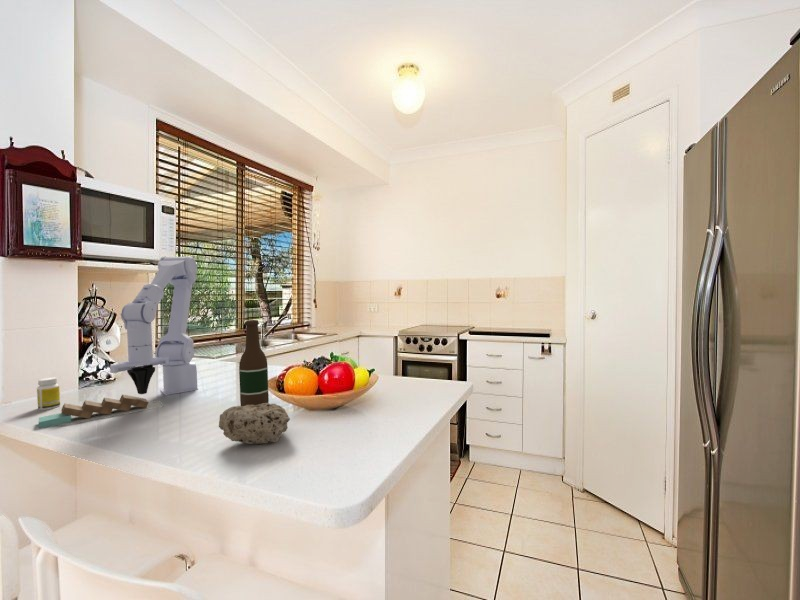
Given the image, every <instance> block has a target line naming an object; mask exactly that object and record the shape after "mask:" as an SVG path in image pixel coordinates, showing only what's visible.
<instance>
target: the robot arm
mask: <svg viewBox="0 0 800 600" xmlns="http://www.w3.org/2000/svg"><path fill="white" fill-rule="evenodd" d="M197 272H198V264H197V262H196V259H194V257H193V256H192V255H188V256H162V257H160V259H159V261H158V262H157V272H156V274H155V276H154V278H153V279H152V281H151V283H147V284H144V285H143V287H142V288H141V289H140V291H139V292H138V293H137V295H136V296H135V297H134V299H133V300H132V302H128V303H127V304H125V305H124V306H123V307H122V309H121V313H120V319H121V320H122V322H123V324H124V326H123V327H124V329H125V330H126V334H127V336H126V338H127V355H128V356H127V358H128V361H125V362H121V363H117V364H116V363H115V364H112V365H109V371H110V372H109V373H111V374H117V373H120V372H125V371H126V372H127V374H128V375H129V377H130V378H131V379H132V381H133V384H134V385H135V389H136V391H137V394H138V395H145V394H147V393H148V389H149V385H150V381H151V379H152V378H153V375H154V373H155V371H156V366H158V365H159V366H162V383H163V384H162V385H163V388H161V389H160V390H159V391H160V392H161V393H162V394H163V395H164V396H170V395H174V394H180V393H186V392H192V391H197V390H199V388H198V371H197V370H198V369H197V365H196V363H195V361H192V360H193V358H194V356H195V349H194V348H195V347H194V339H192V338H191V337H190V336H189V335H188V334H187V327H188V320H189V312H190V305H191V297H192V289H193V284H196V282H197V281H196V280H197ZM168 284H170V285H172V286H173V294H172V303H171V308H170V309H171V310H170V317H169V323H168V330H167V333H166V334H164V335H163V336H162V337H161V338H159V339H158V340H159V341H158V345H157V347H156V348H155V351H154V353H153V333H152V332H153V331H152V322H153V321H154V320H155V319H156V316H157V315H156V314H157V310H158V306H159V304H160V303H161V300H162V299H163V298H164V295H165V293H164V289H165V287H167V285H168ZM154 354H155V355H154Z"/></svg>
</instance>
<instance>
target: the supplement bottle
mask: <svg viewBox="0 0 800 600" xmlns="http://www.w3.org/2000/svg"><path fill="white" fill-rule="evenodd" d="M37 381H38V383H37V384H38V386H37V387H36V397H37V398H36V399H37V410H39V411H45V410H52V409H56V408H59V407H61V396H60V395H61V391H60V385H59V384H58V378H57V377H55V376H54V377H51V376H50V377H45V378H44V377H43V378H41V379H38V380H37Z"/></svg>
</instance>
